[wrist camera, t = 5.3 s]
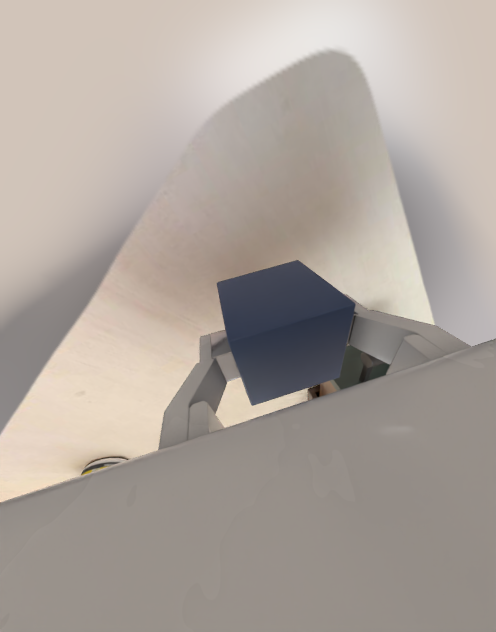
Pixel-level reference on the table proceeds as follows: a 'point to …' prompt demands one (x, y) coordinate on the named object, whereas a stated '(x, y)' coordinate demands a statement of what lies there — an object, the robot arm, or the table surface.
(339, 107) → the table surface
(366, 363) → the drawer
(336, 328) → the block
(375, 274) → the table surface
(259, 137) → the table surface
